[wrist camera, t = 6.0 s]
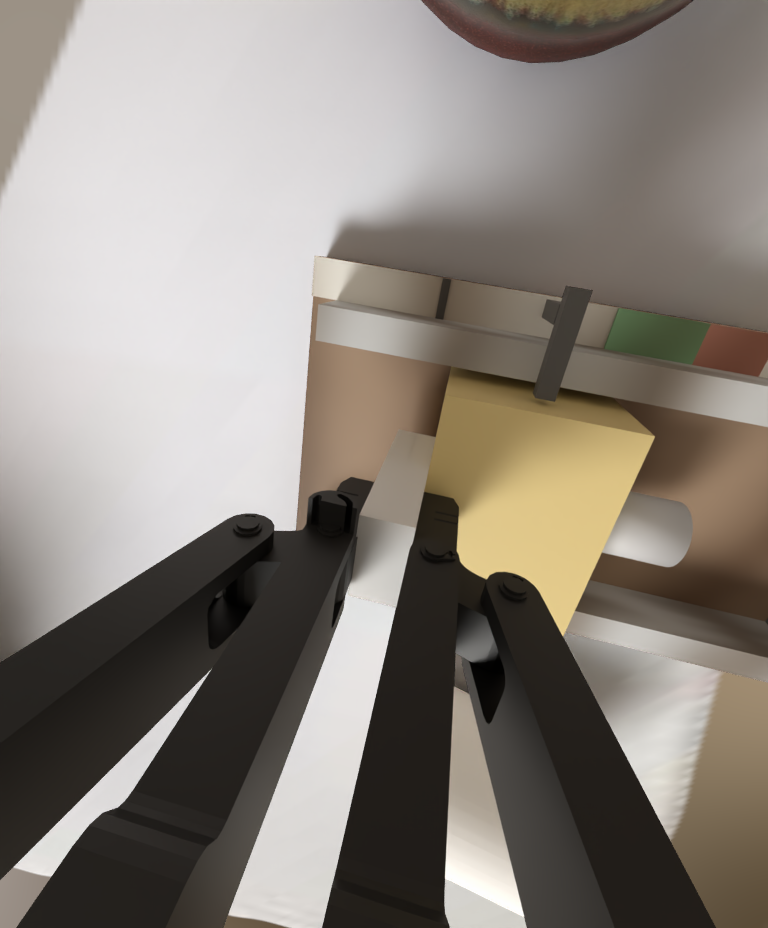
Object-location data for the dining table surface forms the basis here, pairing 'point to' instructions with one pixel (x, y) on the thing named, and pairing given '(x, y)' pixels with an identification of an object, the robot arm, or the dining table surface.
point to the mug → (475, 817)
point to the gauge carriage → (549, 475)
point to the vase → (551, 25)
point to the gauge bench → (589, 370)
